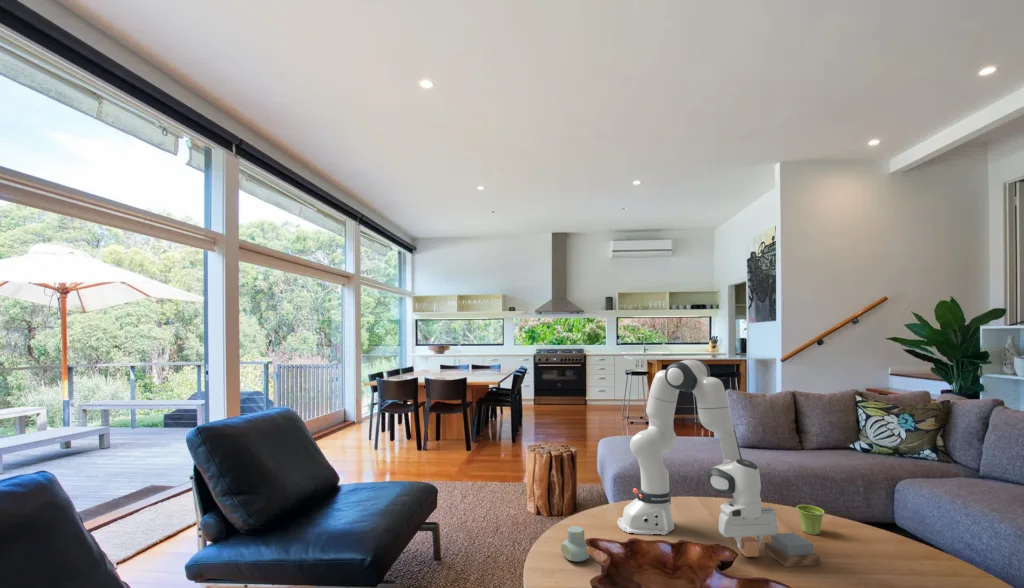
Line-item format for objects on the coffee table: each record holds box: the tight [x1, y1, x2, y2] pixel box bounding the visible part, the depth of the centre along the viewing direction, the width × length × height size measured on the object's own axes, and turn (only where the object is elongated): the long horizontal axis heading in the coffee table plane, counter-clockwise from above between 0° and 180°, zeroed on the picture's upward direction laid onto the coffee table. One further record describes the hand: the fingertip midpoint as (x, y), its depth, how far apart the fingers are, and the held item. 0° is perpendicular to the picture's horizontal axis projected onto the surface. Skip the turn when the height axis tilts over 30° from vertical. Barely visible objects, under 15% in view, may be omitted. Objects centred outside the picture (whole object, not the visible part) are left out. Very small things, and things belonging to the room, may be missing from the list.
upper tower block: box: [770, 532, 814, 556], centre depth 172 cm, size 9×9×4 cm
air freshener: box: [560, 525, 591, 563], centre depth 173 cm, size 11×8×10 cm
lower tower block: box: [763, 541, 820, 568], centre depth 172 cm, size 12×12×4 cm
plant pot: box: [796, 504, 825, 536], centre depth 192 cm, size 9×9×9 cm
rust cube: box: [738, 536, 760, 558], centre depth 173 cm, size 4×4×5 cm
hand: (748, 547), depth 173 cm, fingers closed on rust cube, 4 cm apart
